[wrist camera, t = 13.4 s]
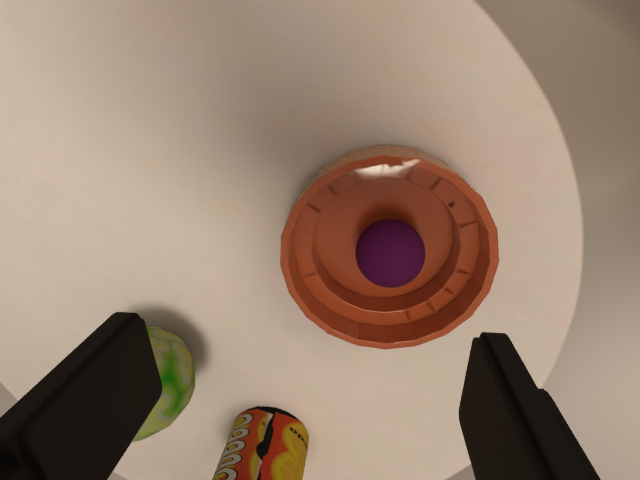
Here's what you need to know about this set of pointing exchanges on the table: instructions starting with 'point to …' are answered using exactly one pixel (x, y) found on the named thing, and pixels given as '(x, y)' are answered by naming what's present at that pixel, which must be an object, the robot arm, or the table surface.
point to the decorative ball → (169, 380)
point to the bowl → (379, 204)
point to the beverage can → (264, 447)
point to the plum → (390, 253)
